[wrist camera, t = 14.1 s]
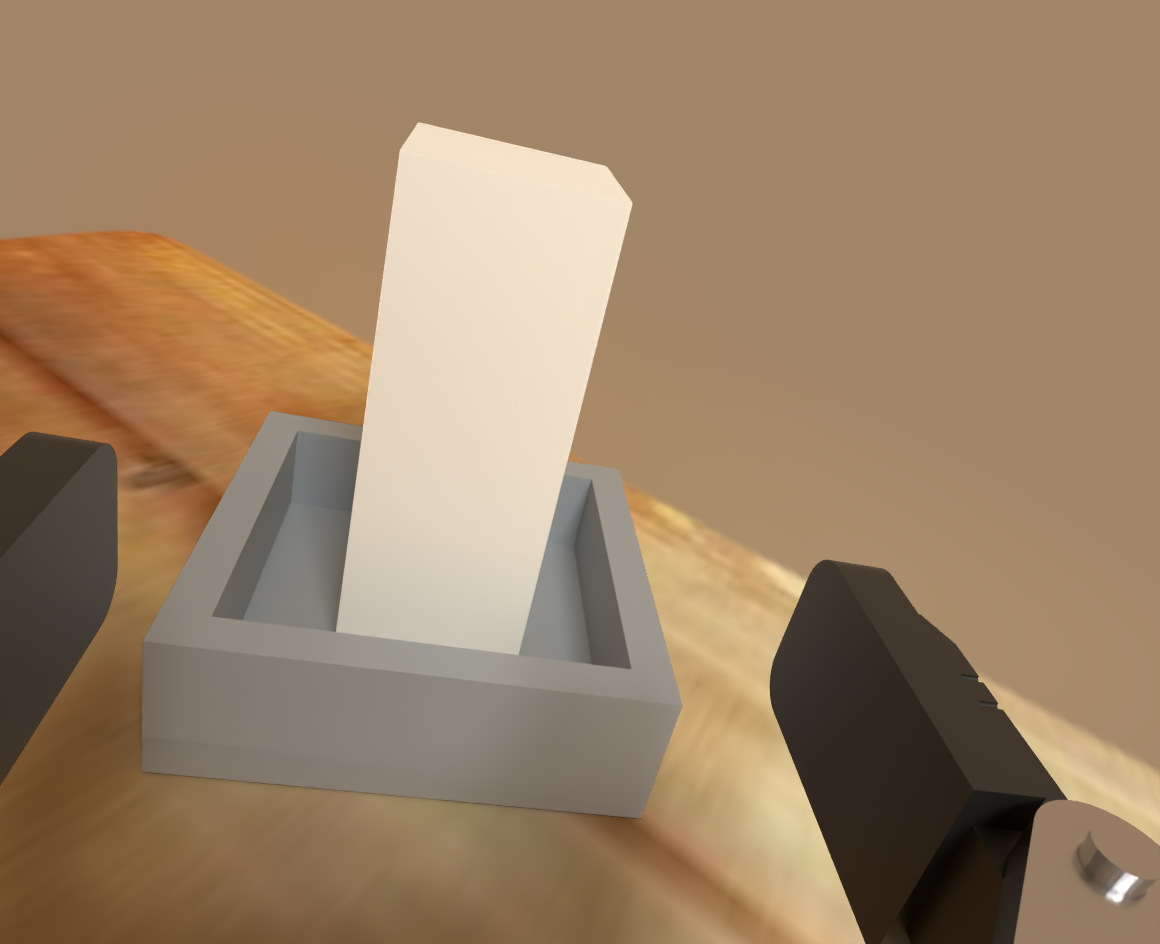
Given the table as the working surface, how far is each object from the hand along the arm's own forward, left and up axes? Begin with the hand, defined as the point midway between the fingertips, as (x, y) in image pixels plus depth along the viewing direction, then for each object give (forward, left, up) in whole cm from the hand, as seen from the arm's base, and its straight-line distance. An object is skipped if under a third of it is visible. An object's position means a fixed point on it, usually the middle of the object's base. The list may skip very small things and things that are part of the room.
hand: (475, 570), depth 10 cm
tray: (0, +11, -10) cm, 15 cm away
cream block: (0, +11, -9) cm, 14 cm away
